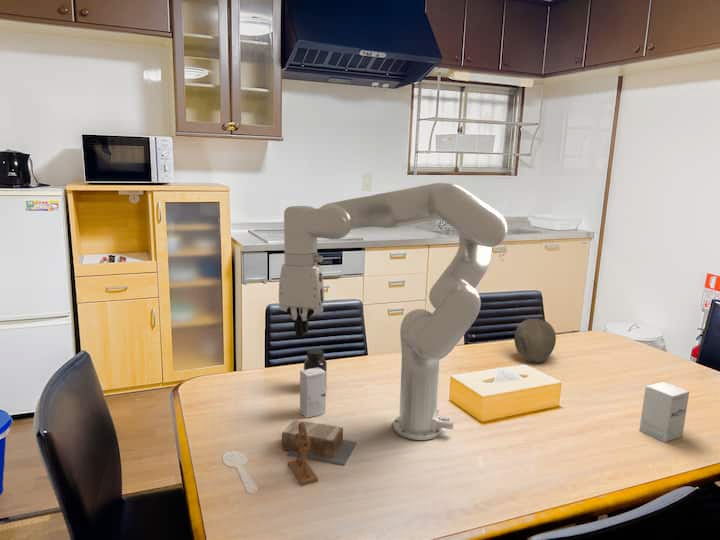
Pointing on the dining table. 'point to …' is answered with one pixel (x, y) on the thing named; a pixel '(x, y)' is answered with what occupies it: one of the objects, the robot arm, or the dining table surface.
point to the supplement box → (664, 411)
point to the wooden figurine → (302, 459)
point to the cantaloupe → (535, 339)
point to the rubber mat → (338, 459)
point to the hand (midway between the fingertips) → (301, 334)
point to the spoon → (240, 468)
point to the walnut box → (314, 438)
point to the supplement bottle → (315, 360)
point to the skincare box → (312, 392)
